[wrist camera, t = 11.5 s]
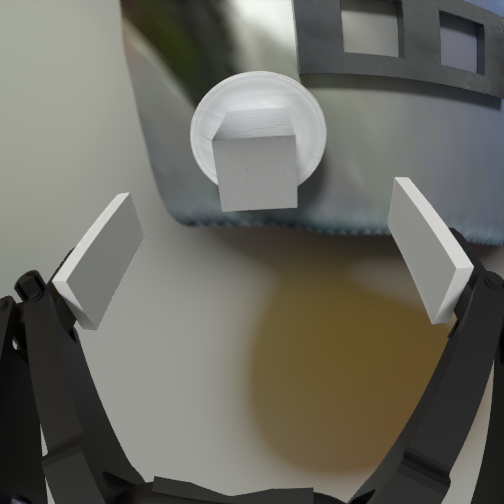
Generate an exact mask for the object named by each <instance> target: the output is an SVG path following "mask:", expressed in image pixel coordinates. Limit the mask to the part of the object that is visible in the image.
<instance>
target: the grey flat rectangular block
mask: <svg viewBox="0 0 504 504" xmlns="http://www.w3.org/2000/svg"><path fill="white" fill-rule="evenodd" d="M291 1H292V10H293V19H294V29H295V40H296V52H297V64H298V72H299V73H347V74H365V75H378V76H389V77H398V78H406V79H414V80H421V81H427V82H433V83H439V84H444V85H449V86H454V87H459V88H463V89H468V90H472V91H476V92H480V93H484V94H488V95H492V96H495V97H499V98H502V99H504V17H501V16H499V15H497V14H495V13H493V12H490V11H488V10H486V9H483V8H481V7H478V6H476V5H473V4H471V3H468V2H465V1H463V0H385V1H391V2H396V9H397V22H398V40H399V58H398V57H390V56H382V55H372V54H360V53H344V49H343V33H342V21H341V9H340V0H291ZM439 12H440V13H443V14H447V15H450V16H453V17H456V18H460V19H463V20H466V21H468V22H471V23H474V24H476V29H477V74H476V73H472V72H469V71H465V70H461V69H457V68H453V67H448V66H444V65H441V43H440V21H439Z"/></svg>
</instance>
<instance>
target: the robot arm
mask: <svg viewBox="0 0 504 504" xmlns="http://www.w3.org/2000/svg"><path fill="white" fill-rule="evenodd" d="M387 226H388V227H389V229H390V231H391V233H392V235H393V237H394V239H395V241H396V243H397V245H398V247H399V249H400V251H401V253H402V256H403V257H404V260H405V262H406V264H407V266H408V268H409V270H410V273H411V275H412V277H413V279H414V282H415V284H416V286H417V289H418V291H419V293H420V296H421V298H422V300H423V303H424V305H425V308H426V310H427V313H428V315H429V318H430V320H431V323H432V324H438V323H445V322H448V321H449V320H450V318H451V315H452V314H453V312H455V315H456V317H457V321H456V322H455V324H454V326H453V328H452V330H451V332H450V333H449V335H448V338H449V340H448V342H447V344H446V347H445V349H444V351H443V353H442V356H441V358H440V360H439V363H438V365H437V367H436V369H435V371H434V373H433V375H432V377H431V379H430V381H429V384H428V385H427V387H426V389H425V391H424V393H423V395H422V397H421V399H420V401H419V403H418V404H417V406H416V408H415V410H414V411H413V413H412V415H411V417H410V418H409V420H408V422H407V424H406V425H405V427H404V429H403V430H402V432H401V433H400V435H399V437H398V438H397V440H396V441H395V443H394V445H393V446H392V447H391V449H390V450H389V452H388V453H387V455H386V456H385V458H384V459H383V461H382V462H381V464H380V465H379V466H378V468H377V469H376V470H375V472H374V473H373V474H372V475H371V476H370V477H369V478H368V480H367V481H366V482H365V483H364V484H363V485H362V486H361V487H360V489H359V490H358V491H357V492H356V493H355V494H354V496H353V497H352V498H351V499H350V500H349V502H348V503H347V504H441V502H442V501H443V499H444V497H445V496H446V494H447V492H448V490H449V487H450V483H451V480H450V477H449V474H450V471H451V469H452V467H453V465H454V463H455V461H456V459H457V457H458V455H459V453H460V451H461V449H462V446H463V444H464V442H465V440H466V438H467V435H468V433H469V431H470V428H471V426H472V423H473V421H474V418H475V416H476V413H477V411H478V408H479V405H480V403H481V400H482V397H483V394H484V391H485V388H486V384H487V382H488V378H489V375H490V372H491V368H492V365H493V361H494V378H493V392H492V404H491V412H490V420H489V427H488V433H487V439H486V445H485V450H484V455H483V460H482V464H481V468H480V472H479V476H478V480H477V484H476V487H475V491H474V494H473V497H472V501H471V504H504V280H503V279H502V278H501V277H500V276H499V275H498V274H496V273H494V272H491V271H486V269H485V268H484V266H483V265H482V263H481V262H480V260H479V259H478V257H477V256H476V255H475V253H474V251H472V248H471V247H470V246H469V244H467V241H466V240H465V238H464V237H463V236H462V234H460V233H459V232H458V231H457V230H455V229H454V228H447V226H446V225H445V224H444V222H443V221H442V219H441V218H440V217H439V215H438V214H437V213H436V211H435V210H434V209H433V208H432V206H431V205H430V204H429V202H428V201H427V200H426V199H425V197H424V196H423V195H422V194H421V192H420V191H419V190H418V189H417V188H416V186H415V185H414V184H413V183H412V182H411V180H410V179H409V178H405V177H394V183H393V191H392V198H391V205H390V211H389V218H388V224H387ZM143 238H144V233H143V230H142V227H141V225H140V221H139V219H138V216H137V212H136V209H135V207H134V203H133V200H132V197H131V193H123V194H118V195H117V196H116V197H115V198H114V199H113V201H112V202H111V203H110V204H109V205H108V206H107V208H106V209H105V210H104V211H103V213H102V214H101V215H100V216H99V218H98V219H97V220H96V221H95V223H94V224H93V225H92V226H91V228H90V229H89V230H88V232H87V233H86V234H85V236H84V237H83V238H82V239H81V241H80V242H79V244H78V245H77V246H76V247H74V248H73V249H72V250H71V251H70V252H69V253H68V255H67V256H66V257H65V258H64V261H62V263H61V264H60V267H58V268H57V270H56V271H55V273H54V274H53V276H52V277H51V279H50V280H49V282H48V283H47V285H46V284H45V282H44V281H43V279H42V277H41V275H40V274H39V272H38V271H36V270H32V271H29V272H27V273H25V274H24V275H22V276H21V277H20V278H19V279H18V281H17V282H16V284H15V287H14V289H15V291H16V292H17V294H18V295H19V297H20V298H21V300H22V301H23V302H21V303H16V302H15V301H14V299H13V297H12V296H5V297H3V298H1V299H0V504H48V500H47V489H46V481H45V477H46V480H47V483H48V486H49V489H50V491H51V494H52V497H53V499H54V502H55V504H346V503H345V502H342V501H341V500H339V499H337V498H334V497H332V496H329V495H325V494H322V493H317V492H313V488H295V489H294V488H293V489H269V490H264V491H259V492H254V493H249V494H242V495H236V496H227V495H223V494H220V493H217V492H215V491H212V490H209V489H206V488H203V487H201V486H198V485H195V484H193V483H190V482H184V481H178V480H172V479H167V478H162V477H157V476H155V477H154V482H147V483H146V482H145V481H144V479H143V478H142V476H141V475H140V474H139V473H138V472H137V471H136V469H135V468H134V467H132V465H131V464H130V462H129V461H128V459H127V457H126V455H125V453H124V451H123V449H122V447H121V445H120V443H119V441H118V439H117V437H116V435H115V433H114V431H113V428H112V426H111V424H110V422H109V419H108V417H107V415H106V412H105V410H104V408H103V405H102V403H101V400H100V398H99V395H98V393H97V390H96V387H95V385H94V382H93V379H92V377H91V374H90V371H89V368H88V365H87V362H86V359H85V356H84V353H83V350H82V347H81V344H80V340H79V337H78V333H77V331H76V329H75V328H74V324H75V322H76V320H77V321H78V322H79V324H80V325H81V327H82V328H83V329H89V330H97V329H98V326H99V324H100V322H101V320H102V318H103V316H104V313H105V311H106V309H107V307H108V305H109V303H110V301H111V299H112V297H113V295H114V293H115V291H116V289H117V287H118V285H119V283H120V281H121V279H122V277H123V275H124V273H125V271H126V269H127V267H128V265H129V264H130V262H131V260H132V258H133V256H134V254H135V252H136V251H137V249H138V247H139V245H140V243H141V241H142V240H143ZM13 341H14V342H15V343H16V344H17V349H14V347H13ZM40 423H41V427H42V431H43V435H44V439H45V442H46V446H47V450H48V453H47V455H45V456H42V445H41V429H40V428H41V427H40Z"/></svg>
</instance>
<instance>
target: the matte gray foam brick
mask: <svg viewBox="0 0 504 504" xmlns="http://www.w3.org/2000/svg"><path fill="white" fill-rule="evenodd" d="M211 142H212V148H213V155H214V161H215V168H216V174H217V181H218V187H219V194H220V200H221V206H222V212H226V211H242V210H259V209H279V208H297V164H296V135H295V132H294V129H293V126H292V124H291V121H290V118H289V115H288V112H287V110H286V108H270V109H254V110H242V111H231V112H227V114H226V116H225V118H224V119H223V121H222V123H221V125H220V126H219V128H218V130H217V132H216V134H215V135H214V137H213V139H212V141H211Z"/></svg>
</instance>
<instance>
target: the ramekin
mask: <svg viewBox="0 0 504 504" xmlns="http://www.w3.org/2000/svg"><path fill="white" fill-rule="evenodd" d="M270 108H286V110H287V112H288V115H289V118H290V121H291V124H292V126H293V129H294V132H295V135H296V164H297V187H298V186H299V185H300V184H302V183H303V182H304V181H305V180H307V179H308V178H309V177H310V176H311V174H312V173H313V172H314V171H315V169H316V168H317V166H318V165H319V163H320V161H321V159H322V156H323V154H324V150H325V146H326V139H327V129H326V122H325V118H324V115H323V112H322V110H321V108H320V106H319V103H318V101H317V100H316V99H315V98H314V97H313V95H312V94H311V93H310V92H309V91H308V90H307V89H306V88H305V87H303V86H302V85H301V84H300V83H298V82H296V81H295V80H293V79H291V78H289V77H287V76H284V75H281V74H277V73H273V72H267V71H252V72H245V73H241V74H237V75H234V76H232V77H229V78H227V79H225V80H223V81H222V82H220V83H219V84H217V85H216V86H215V87H214V88H212V89H211V90H210V91H209V92H208V93H207V94H206V95H205V97H204V98H203V99H202V101H201V102H200V104H199V105H198V107H197V109H196V111H195V114H194V116H193V119H192V122H191V129H190V141H191V147H192V151H193V155H194V157H195V159H196V161H197V163H198V165H199V167H200V168H201V170H202V171H203V172H204V173H205V175H206V176H207V177H208V178H209V179H210V180H211V181H213V182H214V183H215V184H217V185H218V181H217V174H216V168H215V161H214V155H213V148H212V142H211V141H212V139H213V137H214V135H215V134H216V132H217V130H218V128H219V126H220V125H221V123H222V121H223V119H224V118H225V116H226V114H227V112H231V111H242V110H254V109H270Z"/></svg>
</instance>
